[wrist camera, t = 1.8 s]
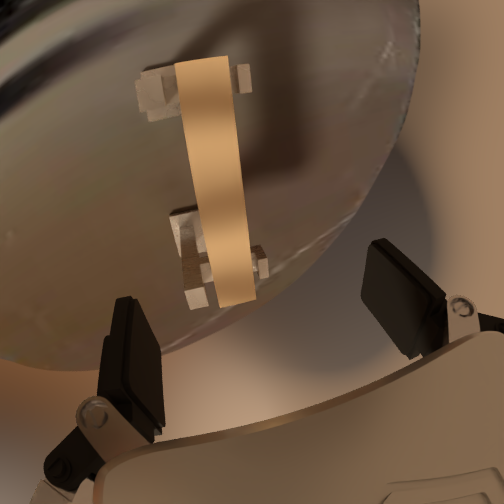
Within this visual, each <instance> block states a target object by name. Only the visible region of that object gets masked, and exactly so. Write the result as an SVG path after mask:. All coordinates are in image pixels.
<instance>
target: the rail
mask: <svg viewBox="0 0 504 504" xmlns="http://www.w3.org/2000/svg"><path fill="white" fill-rule="evenodd" d="M175 72H176V79H177V86H178V93H179V100H180V107H181V113H182V119H183V126H184V132H185V138H186V144H187V150H188V155H189V161H190V167H191V172H192V178H193V183H194V188H195V194H196V199H197V204H198V209H199V214H200V219H201V224H202V229H203V234H204V239H205V243H206V248H207V253H208V257H209V262H210V266H211V271H212V275H213V280H214V284H215V288H216V293H217V297H218V301H219V305H220V308H222V307H226V306H230V305H235V304H239V303H243V302H247V301H251V300H256V294H255V285H254V277H253V268H252V260H251V251H250V243H249V235H248V226H247V218H246V209H245V201H244V192H243V184H242V175H241V167H240V158H239V150H238V141H237V132H236V124H235V115H234V107H233V98H232V90H231V81H230V72H229V64H228V56H220V57H212V58H205V59H198V60H191V61H185V62H179V63H175Z"/></svg>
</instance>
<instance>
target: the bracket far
mask: <svg viewBox="0 0 504 504" xmlns="http://www.w3.org/2000/svg"><path fill="white" fill-rule="evenodd" d="M169 218H170V222H171V226H172V229H173V233H174V237H175V241H176V245H177V248H178V252H179V255H180V257H181V259H182V271H183V282H184V292H185V295H186V298H187V301H188V304H189V307H190V310H192V309H196V308H201V307H205V306H209V305H208V300H207V295H206V289H205V284H204V283H206V282H210V281H214V280H213V275H212V271H211V266H210V262H209V257H208V256H205V257H201V258H200V257H199V253H200V252H205V251H207V248H206V243H205V239H204V234H203V229H202V224H201V219H200V214H199V209H193V210H188V211H184V212H179V213H175V214H170V215H169ZM250 251H251V260H252V268H253V272H254V271H256V272H257V274H258V276H259V278H260V279H262V278H267V277H269V272H268V260H267V256H266V254H265V253H264V251H263V249H262V247H261V245H256V246H251V247H250Z"/></svg>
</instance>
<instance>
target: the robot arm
mask: <svg viewBox="0 0 504 504" xmlns="http://www.w3.org/2000/svg"><path fill="white" fill-rule="evenodd" d="M445 296H446V293H445V292H444V291H443V290H441V288H440V287H439V286H438V285H437V284H436V283H434V281H432V280H431V279H430V278H429V277H428V276H427V275H426V274H425V273H424V272H423V271H422V270H421V269H419V267H417V266H416V265H415V264H414V263H413V262H412V261H411V260H410V259H409V258H408V257H406V256H405V255H404V254H403V253H402V252H401V251H400V250H398V249H397V248H396V247H395V246H394V245H393V244H392V243H390V242H389V241H388V240H387V239H385V238H382V239H378V240H374V241H372V242H371V245H369V247H368V252H367V259H366V265H365V272H364V278H363V285H362V290H361V299H362V301H363V303H364V304H365V305H366V306H367V307H368V309H369V310H370V311H371V313H372V314H373V315H374V317H375V318H376V319H377V320H378V322H379V323H380V325H381V326H382V327H383V329H384V330H385V331H386V333H387V334H388V335H389V337H390V338H391V339H392V341H393V342H394V343H395V345H396V346H397V347H398V349H399V350H400V351H401V353H402V354H404V355H406V356H407V357H408V358H409V360H411V359H413V358H414V357H417V356H418V355H419V354H420V353H421V355H422V356H423V358H421V359H420V360H418V361H416V362H414V363H412V364H410V365H408V366H406V367H404V368H402V369H400V370H398V371H396V372H394V373H392V374H390V375H388V376H385V377H383V378H381V379H379V380H377V381H374V382H372V383H370V384H368V385H366V386H363V387H361V388H358V389H356V390H353V391H351V392H349V393H346V394H343V395H341V396H338V397H336V398H333V399H330V400H327V401H325V402H322V403H319V404H316V405H313V406H310V407H308V408H305V409H301V410H298V411H295V412H292V413H289V414H285V415H282V416H278V417H275V418H272V419H268V420H264V421H260V422H257V423H253V424H249V425H244V426H241V427H236V428H231V429H226V430H222V431H217V432H212V433H207V434H202V435H196V436H191V437H185V438H179V439H174V440H169V441H162V442H157V443H153V442H154V441H155V440H154V436H155V435H162V427H165V424H166V423H165V412H164V399H163V384H162V365H161V350H160V346H159V344H158V342H157V340H156V338H155V336H154V334H153V332H152V330H151V328H150V325H149V323H148V321H147V319H146V317H145V315H144V313H143V310H142V308H141V306H140V304H139V302H138V300H137V299H133V298H132V297H131V296H127V297H122V298H117V299H116V302H115V307H114V313H113V319H112V324H111V331H110V335H108V336H106V337H105V338H104V342H103V349H102V356H101V363H100V372H99V380H98V389H97V396H92V397H89V398H87V399H86V400H84V401H83V402H82V403H81V404H80V405H79V407H78V409H77V411H76V423H77V425H78V426H77V427H76V428H75V429H74V430H73V431H72V432H71V433H70V434H69V435H68V436H67V437H66V438H65V439H64V440H63V441H62V442H61V443H60V444H59V445H58V446H57V447H56V448H55V449H54V450H53V451H52V452H51V453H50V454H49V455H48V456H47V457H46V459H45V462H44V474H45V476H46V477H45V479H44V480H40V482H39V484H38V486H37V488H36V490H35V492H34V495H33V497H32V499H31V501H30V503H29V504H504V319H502V318H498V317H494V316H489V315H485V314H481V313H477V308H476V306H475V304H474V303H473V302H472V301H471V300H470V299H468V298H467V297H465V296H461V295H455V296H451V297H450V298H449V299H448V301H447V300H446V299H445Z"/></svg>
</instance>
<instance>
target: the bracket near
mask: <svg viewBox="0 0 504 504" xmlns="http://www.w3.org/2000/svg"><path fill="white" fill-rule="evenodd" d="M229 72H230V81H231V90H232V94H235V93H249V92H252V85H251V75H250V66H249V64H240V65H235V66H232V67H229ZM141 78H142V79H139V80H135V86H136V92H137V98H138V104H139V110H140V113H141V112H145V111H147V115H148V121H149V122H152V121H156V120H160V119H165V118H169V117H174V116H179V115H182V113H181V107H180V100H179V93H178V86H177V79H176V72H175V65H171V66H166V67H161V68H157V69H152V70H148V71H144V72H141Z"/></svg>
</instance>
